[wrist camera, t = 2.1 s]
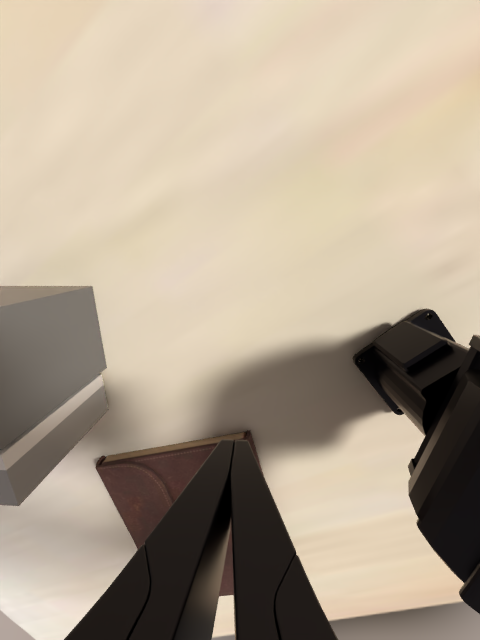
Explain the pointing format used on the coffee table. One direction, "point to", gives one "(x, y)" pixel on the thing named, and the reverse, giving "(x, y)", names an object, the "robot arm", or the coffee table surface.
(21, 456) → the door
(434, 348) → the robot arm
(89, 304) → the block
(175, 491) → the notebook
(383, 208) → the coffee table surface
